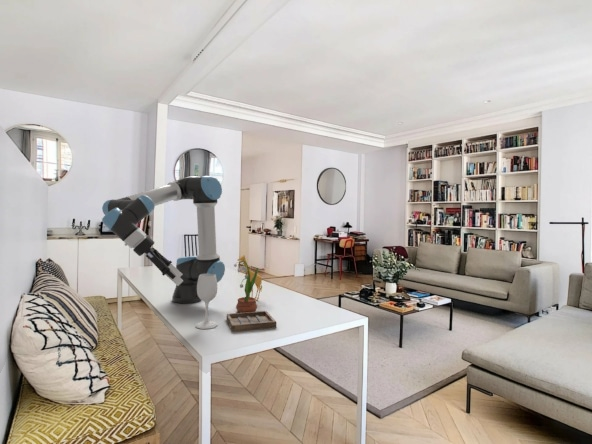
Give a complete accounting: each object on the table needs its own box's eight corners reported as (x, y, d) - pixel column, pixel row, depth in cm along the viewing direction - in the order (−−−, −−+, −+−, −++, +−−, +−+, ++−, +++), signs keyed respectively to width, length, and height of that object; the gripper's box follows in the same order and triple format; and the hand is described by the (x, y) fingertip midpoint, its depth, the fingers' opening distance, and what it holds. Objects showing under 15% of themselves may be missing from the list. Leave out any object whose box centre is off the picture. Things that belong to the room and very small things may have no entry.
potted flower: (235, 315, 153) (236, 261, 152) (229, 309, 162) (230, 258, 161) (260, 312, 158) (261, 260, 158) (252, 307, 167) (254, 257, 167)
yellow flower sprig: (239, 305, 171) (240, 255, 170) (234, 303, 174) (235, 255, 173) (264, 299, 182) (265, 253, 182) (259, 298, 186) (260, 253, 185)
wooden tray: (226, 319, 147) (226, 313, 147) (266, 316, 153) (266, 310, 153) (232, 331, 132) (232, 325, 132) (276, 327, 138) (276, 321, 138)
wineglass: (211, 330, 134) (212, 277, 133) (191, 328, 135) (192, 276, 135) (220, 323, 142) (221, 273, 142) (201, 321, 144) (202, 272, 143)
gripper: (135, 246, 140) (173, 280, 145) (127, 253, 117) (173, 294, 122) (149, 233, 142) (186, 268, 147) (144, 238, 118) (188, 278, 124)
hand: (180, 279), depth 135 cm, fingers open, 13 cm apart
